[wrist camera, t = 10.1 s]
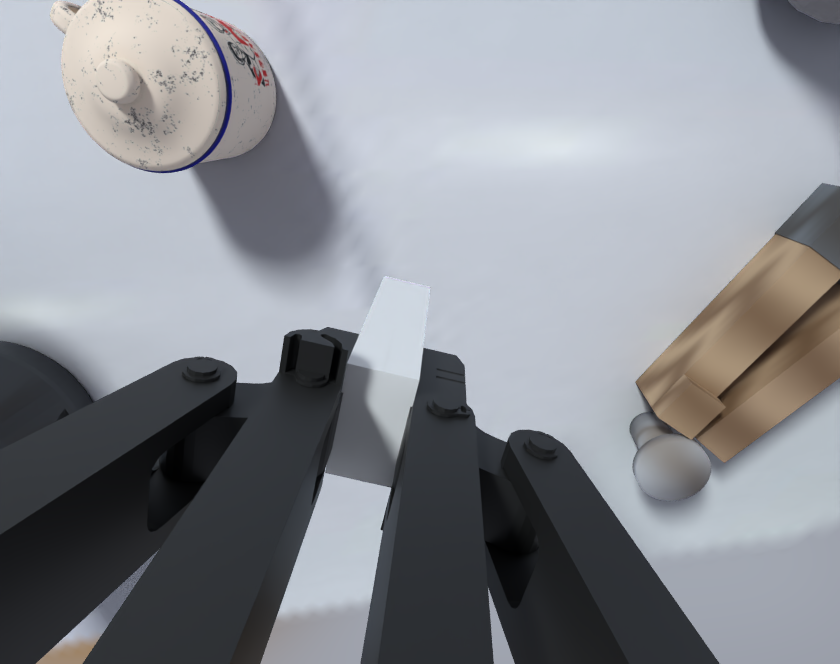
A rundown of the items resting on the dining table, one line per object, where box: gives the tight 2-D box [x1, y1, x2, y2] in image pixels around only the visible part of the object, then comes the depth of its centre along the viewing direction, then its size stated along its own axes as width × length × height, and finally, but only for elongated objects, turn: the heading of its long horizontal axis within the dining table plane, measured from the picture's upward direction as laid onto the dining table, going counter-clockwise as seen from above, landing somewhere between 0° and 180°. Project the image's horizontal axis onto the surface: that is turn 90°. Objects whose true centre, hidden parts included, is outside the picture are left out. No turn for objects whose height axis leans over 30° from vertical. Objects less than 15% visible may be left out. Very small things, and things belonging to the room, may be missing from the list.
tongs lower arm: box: [630, 279, 840, 463], centre depth 38 cm, size 22×5×4 cm, turn 140°
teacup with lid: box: [50, 0, 276, 173], centre depth 31 cm, size 12×9×12 cm
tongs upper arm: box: [633, 183, 840, 501], centre depth 38 cm, size 23×6×6 cm, turn 146°
